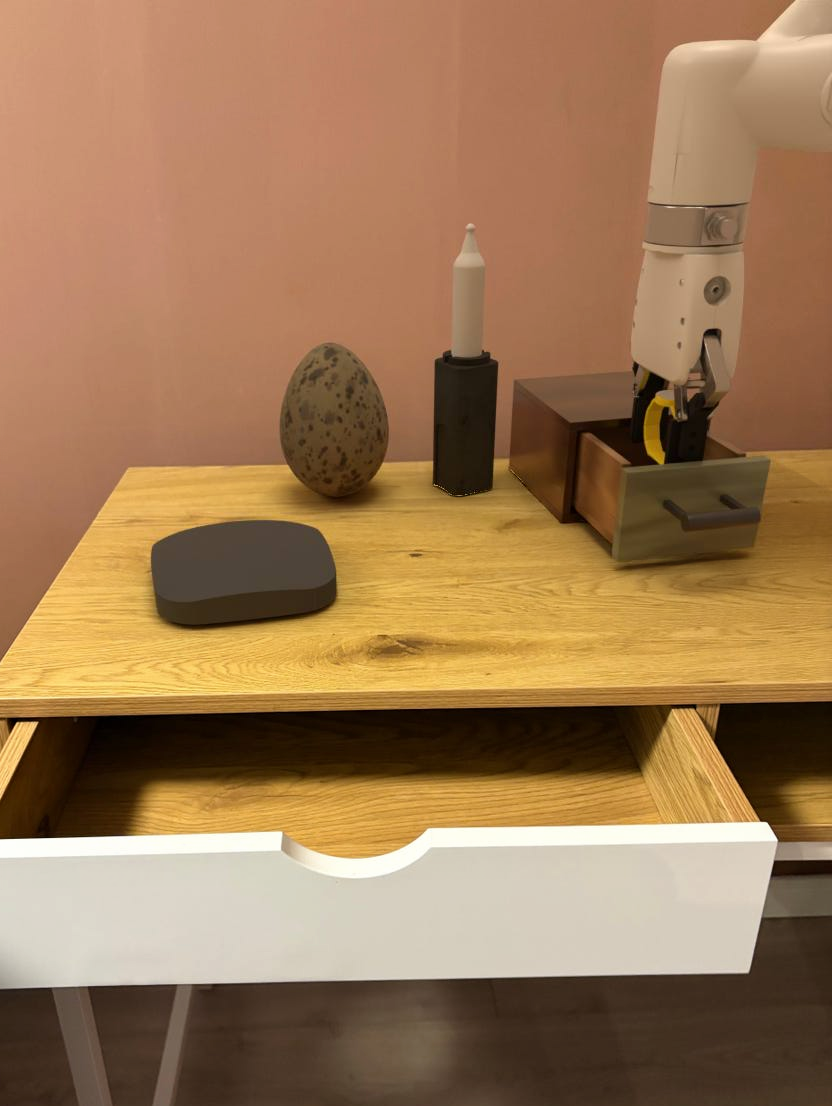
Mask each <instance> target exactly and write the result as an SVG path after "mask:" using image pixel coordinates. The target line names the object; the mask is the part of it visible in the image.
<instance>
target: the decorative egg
mask: <svg viewBox="0 0 832 1106" xmlns="http://www.w3.org/2000/svg"><path fill="white" fill-rule="evenodd" d="M388 418H389V417H388V413H387V409H386V405H385V401H384V398H383V395H382V393H381V390H380V388H379V386H378V384H377V382H376V380H375V379H374V376H373V375H372V374H371V372H370V370H369V369H368V368H367V366H366V365H365V363H364V362H363V361H362V360H361V359H360V357H358V356H357V355H356V354H355V353H354V352H353V351H352V350H350V349H349V348H348V347H345V345H342V344H340V343H336V342H324V343H320V344H318V345H316V346H314V347H313V348H312V349H311V350H309V351H308V353H307V354H306V355H305V356H304V357H303V358H301V360H300V362H299V363H298V365H297V366H296V368H295V370H294V372H293V374H292V375H291V377H290V379H289V382H288V383H287V386H286V389H285V392H284V396H283V398H282V404H281V408H280V415H279V440H280V447H281V450H282V454H283V457H284V459H285V461H286V464H287V466H288V468H289V469H290V471H291V472H292V473H293V475H294V476H295V477H296V478H297V480H298V481H299V482H301V484H303V485H304V486H305V487H307V489H309V490H311V491H312V492H315V493H317V494H320V495H322V496H325V497H345V496H349V495H352V494H354V493H356V492H358V491H360V490H361V489H362V488H364V487H366V486H367V485H368V484H369V483H370V482H371V481H372V480H373V478H375V476H376V475H377V473H378V472H379V470H380V469H381V467H382V465H383V463H384V461H385V458H386V455H387V451H388V447H389V440H390V439H389V437H390V427H389V419H388Z"/></svg>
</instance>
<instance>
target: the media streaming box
mask: <svg viewBox="0 0 832 1106" xmlns="http://www.w3.org/2000/svg"><path fill="white" fill-rule="evenodd" d="M336 567H337V566H336V563H335V559H334V557H333V552H332V550H331V548H330V545H329V543H328V541H327V539H326V537H325V536H324V534H323V533H322V532H321V531H320V529H318V528H316V527H314V526H311V525H307V524H304V523H300V522H299V523H298V522H295V521H287V520H280V519H279V520H278V519H246V520H232V521H224V522H216V523H211V524H205V525H200V526H195V527H191V528H188V529H183V530H180V531H177V532H175V533H172V534H170V535H167V536H165V537H163V538H161V539H159V540H158V541H156V542H155V543H153V544H152V545H151V550H150V571H151V580H152V584H153V592H154V599H155V606H156V612H157V613H158V615H159V616H160V617H162V618H163V619H165V620H166V621H169V622H173V623H176V624H182V625H195V626H197V625H209V624H220V623H229V622H230V623H231V622H240V621H250V620H258V619H259V620H260V619H265V618H267V619H268V618H276V617H282V616H289V615H297V614H304V613H310V612H313V611H317V610H319V609H321V608H324V607H326V606H327V605H329V604H330V603H331V602H333V601H334V600H335V598H336V597H337V593H338V583H337V568H336Z"/></svg>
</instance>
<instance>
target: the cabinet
mask: <svg viewBox="0 0 832 1106" xmlns="http://www.w3.org/2000/svg"><path fill="white" fill-rule="evenodd" d="M634 380H635V376H634V372H633V370H629V371H616V372H615V371H614V372H601V373H600V372H599V373H598V372H597V373H587V374H585V373H584V374H573V375H559V376H558V375H557V376H543V377H532V378H531V377H530V378H517V379H513V385H512V386H513V387H512V389H513V390H512V406H511V425H510V442H509V443H510V444H509V461H508V462H509V464H508V469H509V468H510V469H511V470H512V471H513V472H514V473H515V474H516V475H517V476H518V477H519V478H520V479H521V481H523V483H524V484H525V485H526V486H527V487H528V488H527V487H526V486H525V485H524V484H523V483H522V484H523V485H524V486H525V487H526V488H527V490H529V489H530V490H529V491H530V493H532V495H533V496H534V497H535V498H536V499H537V500H538V501H539V500H540V501H541V502H540V501H539V502H540V503H541V504H542V505H544V507H545V508H546V509H547V510H548V511H549V512H550V513H551V514H552V515H553V516H554V517H555V518H556V520H558V521H559V523H561V524H567V523H578V522H588V521H587V520H586V519H585V518H584V517H583V516H582V515H581V514H580V513H579V512H578V511H577V510H576V509H575V508H574V507H572V506H571V497H572V486H573V475H574V464H575V453H576V442H577V431H578V430H590V429H603V428H615V427H627V426H631V418H632V409H633V401H634V397H639V396H634V395H633V391H632V388H633V383H634ZM667 390H674V388H671V387H670V386H669V387H668V389H667ZM670 419H674V417H673V414H672V411H671V409H670V407H669V413H668V421H667V423H669V421H670ZM711 423H712V419H711V420H709V424H708V431H709V432H710V429H711ZM521 481H520V482H521Z"/></svg>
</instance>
